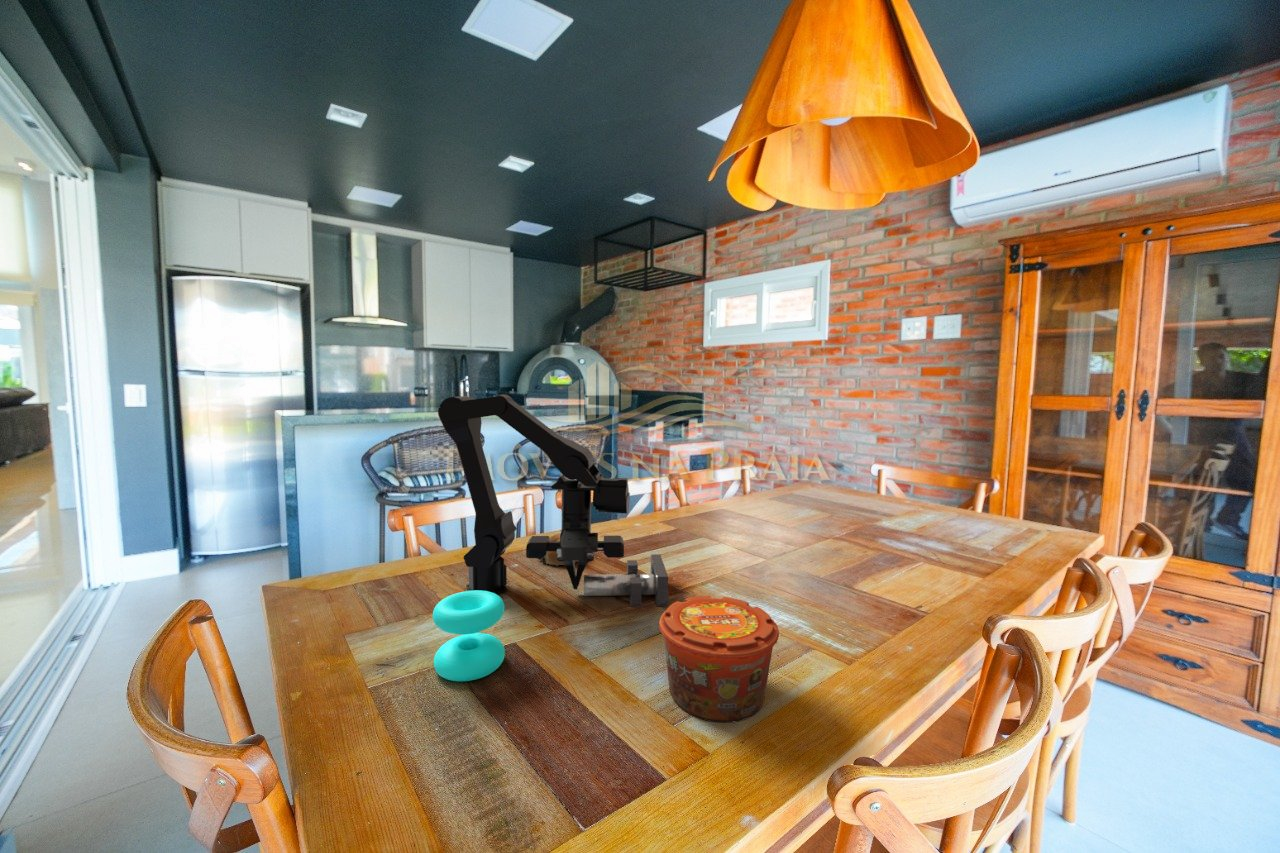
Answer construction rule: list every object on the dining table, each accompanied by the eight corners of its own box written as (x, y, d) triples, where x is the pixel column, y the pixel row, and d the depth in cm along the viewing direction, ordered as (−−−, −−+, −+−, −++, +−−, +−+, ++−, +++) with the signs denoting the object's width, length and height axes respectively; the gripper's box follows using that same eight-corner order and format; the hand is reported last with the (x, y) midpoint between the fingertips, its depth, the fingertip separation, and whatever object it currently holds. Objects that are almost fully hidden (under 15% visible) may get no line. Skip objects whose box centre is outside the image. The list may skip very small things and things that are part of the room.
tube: (583, 600, 101) (583, 584, 99) (584, 586, 104) (584, 570, 103) (665, 598, 102) (666, 582, 100) (662, 585, 106) (663, 569, 104)
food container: (693, 746, 60) (696, 658, 59) (639, 674, 75) (640, 602, 74) (802, 713, 67) (805, 633, 66) (732, 652, 81) (734, 586, 80)
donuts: (492, 617, 70) (419, 615, 71) (493, 686, 71) (421, 684, 72) (512, 588, 80) (449, 586, 81) (512, 649, 81) (450, 647, 82)
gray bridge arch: (657, 606, 97) (657, 576, 97) (650, 580, 110) (650, 554, 109) (667, 605, 98) (668, 576, 97) (659, 580, 110) (660, 554, 110)
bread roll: (570, 583, 118) (585, 552, 117) (529, 563, 117) (544, 532, 117) (576, 567, 127) (590, 539, 127) (538, 549, 127) (552, 520, 126)
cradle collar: (630, 606, 97) (631, 583, 97) (627, 581, 109) (627, 560, 109) (641, 606, 97) (641, 583, 97) (636, 580, 110) (636, 560, 109)
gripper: (521, 522, 92) (521, 607, 94) (626, 522, 94) (624, 605, 95) (530, 507, 103) (530, 583, 105) (623, 507, 105) (621, 582, 106)
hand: (575, 588), depth 102 cm, fingers closed
